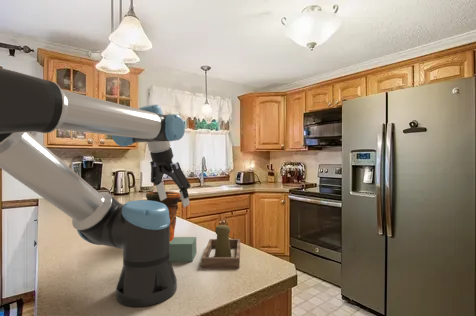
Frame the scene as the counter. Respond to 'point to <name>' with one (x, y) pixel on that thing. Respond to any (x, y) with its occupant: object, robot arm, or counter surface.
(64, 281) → the counter surface
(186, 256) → the stand
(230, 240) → the wooden frame
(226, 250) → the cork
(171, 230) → the vessel
